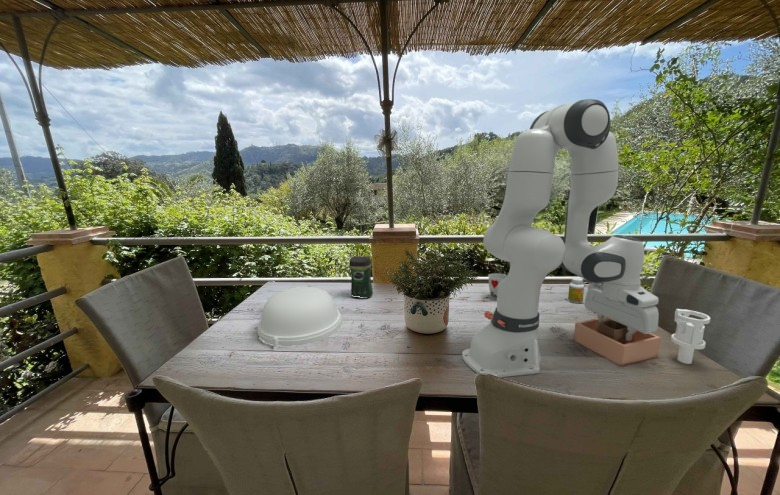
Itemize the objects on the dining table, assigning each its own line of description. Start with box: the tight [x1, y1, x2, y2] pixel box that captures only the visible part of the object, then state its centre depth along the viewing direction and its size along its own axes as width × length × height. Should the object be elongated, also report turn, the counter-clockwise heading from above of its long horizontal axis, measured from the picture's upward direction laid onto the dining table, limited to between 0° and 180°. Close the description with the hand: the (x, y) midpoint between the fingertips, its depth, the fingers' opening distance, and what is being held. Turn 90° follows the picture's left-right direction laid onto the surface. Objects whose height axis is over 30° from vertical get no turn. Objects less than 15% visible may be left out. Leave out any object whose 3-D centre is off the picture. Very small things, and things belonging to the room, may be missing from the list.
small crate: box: [596, 320, 635, 345], centre depth 99 cm, size 8×6×5 cm
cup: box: [488, 272, 508, 301], centre depth 142 cm, size 8×8×10 cm
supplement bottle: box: [567, 276, 585, 304], centre depth 136 cm, size 5×5×10 cm
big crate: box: [573, 317, 662, 367], centre depth 100 cm, size 14×16×6 cm
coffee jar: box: [348, 255, 374, 298], centre depth 149 cm, size 10×8×19 cm
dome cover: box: [257, 286, 343, 347], centre depth 120 cm, size 32×30×14 cm
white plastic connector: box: [670, 308, 711, 365], centre depth 91 cm, size 7×7×15 cm
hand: (615, 334), depth 99 cm, fingers closed on small crate, 6 cm apart
